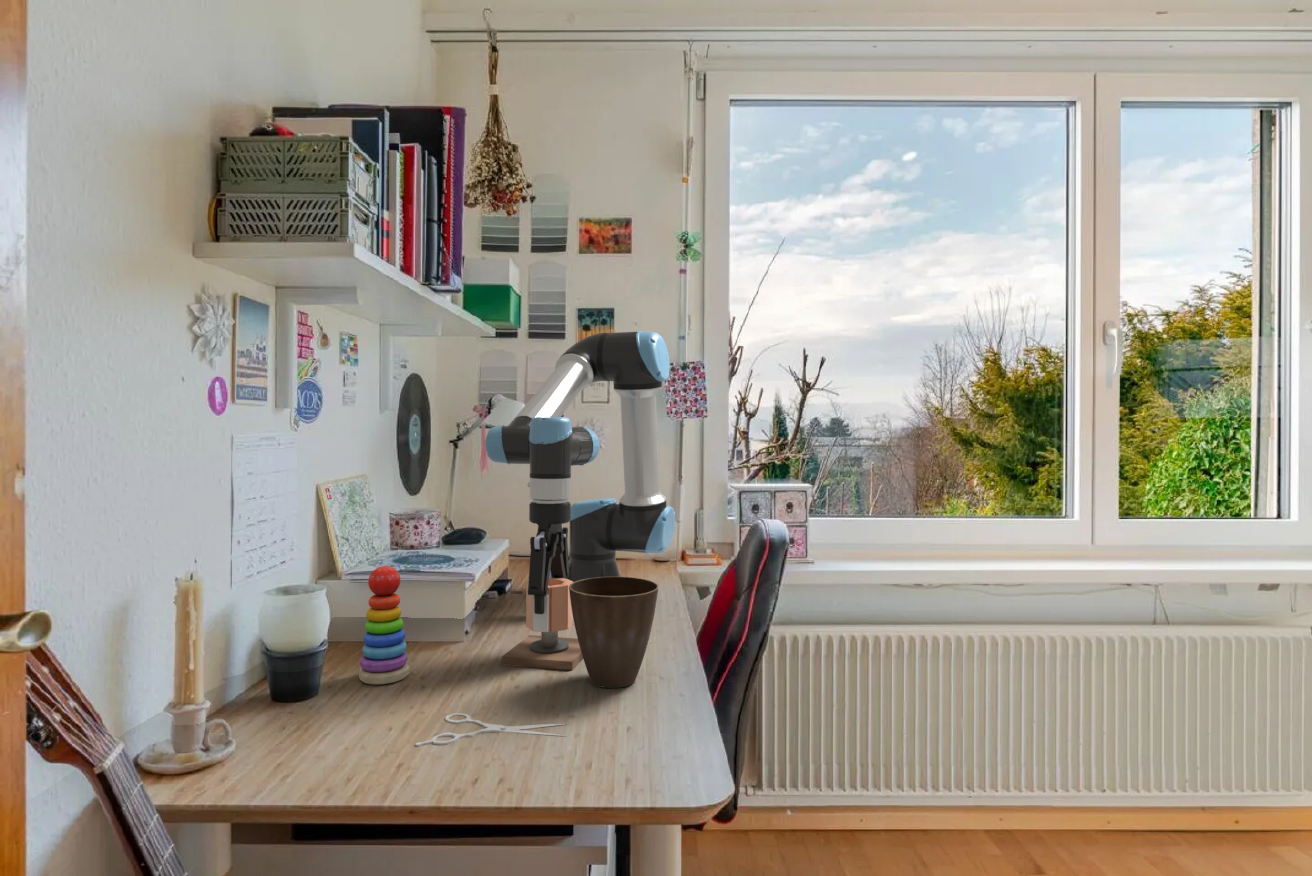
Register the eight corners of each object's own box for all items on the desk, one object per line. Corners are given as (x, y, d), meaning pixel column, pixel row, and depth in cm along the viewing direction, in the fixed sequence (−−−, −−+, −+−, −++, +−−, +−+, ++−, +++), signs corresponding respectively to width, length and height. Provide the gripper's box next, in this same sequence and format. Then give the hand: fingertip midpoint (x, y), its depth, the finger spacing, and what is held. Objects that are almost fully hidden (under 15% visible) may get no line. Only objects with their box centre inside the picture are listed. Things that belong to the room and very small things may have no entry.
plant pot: (573, 664, 130) (573, 575, 130) (657, 665, 130) (657, 575, 130) (563, 696, 115) (564, 595, 115) (658, 697, 116) (659, 596, 115)
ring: (536, 618, 140) (537, 576, 139) (577, 621, 138) (577, 578, 138) (520, 630, 132) (520, 585, 132) (563, 633, 130) (563, 588, 130)
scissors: (438, 712, 108) (573, 712, 109) (438, 718, 108) (573, 717, 109) (415, 744, 98) (565, 743, 98) (415, 750, 98) (565, 749, 98)
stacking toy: (418, 677, 123) (418, 566, 123) (372, 690, 118) (372, 574, 117) (395, 666, 129) (395, 560, 128) (350, 677, 123) (350, 566, 122)
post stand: (529, 642, 143) (529, 586, 143) (593, 647, 140) (593, 590, 140) (502, 664, 130) (502, 602, 130) (572, 670, 128) (572, 607, 127)
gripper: (550, 494, 145) (549, 608, 146) (508, 506, 125) (507, 639, 126) (586, 495, 144) (585, 611, 144) (550, 508, 123) (549, 642, 124)
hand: (549, 624), depth 135 cm, fingers closed on ring, 8 cm apart
